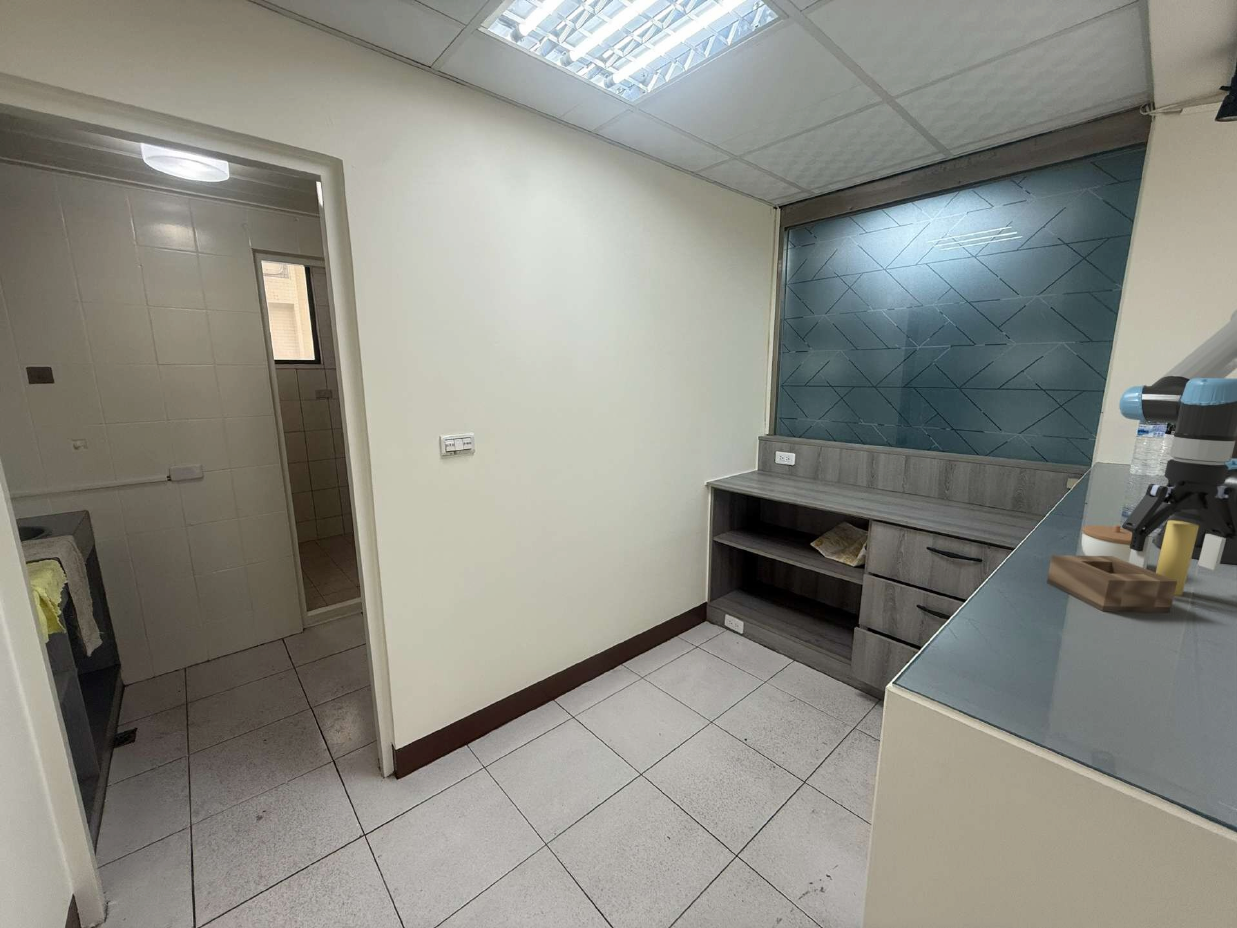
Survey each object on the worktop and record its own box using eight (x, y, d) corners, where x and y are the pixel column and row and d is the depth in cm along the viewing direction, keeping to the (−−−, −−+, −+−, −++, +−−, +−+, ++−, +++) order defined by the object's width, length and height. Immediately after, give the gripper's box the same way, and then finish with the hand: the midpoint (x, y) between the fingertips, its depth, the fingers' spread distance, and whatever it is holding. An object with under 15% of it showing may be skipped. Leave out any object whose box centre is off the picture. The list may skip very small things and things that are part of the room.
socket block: (1106, 583, 100) (1112, 556, 99) (1169, 612, 88) (1177, 581, 87) (1046, 582, 100) (1051, 555, 99) (1102, 611, 88) (1108, 580, 87)
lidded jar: (1113, 557, 114) (1121, 519, 113) (1158, 576, 104) (1168, 534, 102) (1064, 555, 115) (1071, 517, 114) (1103, 574, 105) (1112, 532, 103)
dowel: (1166, 586, 99) (1182, 520, 96) (1188, 595, 95) (1205, 526, 92) (1146, 586, 99) (1161, 520, 96) (1167, 595, 95) (1184, 526, 92)
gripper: (1241, 458, 95) (1214, 560, 99) (1111, 456, 96) (1090, 558, 100) (1292, 465, 88) (1261, 576, 92) (1151, 463, 88) (1126, 573, 92)
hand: (1172, 567), depth 96 cm, fingers open, 13 cm apart
